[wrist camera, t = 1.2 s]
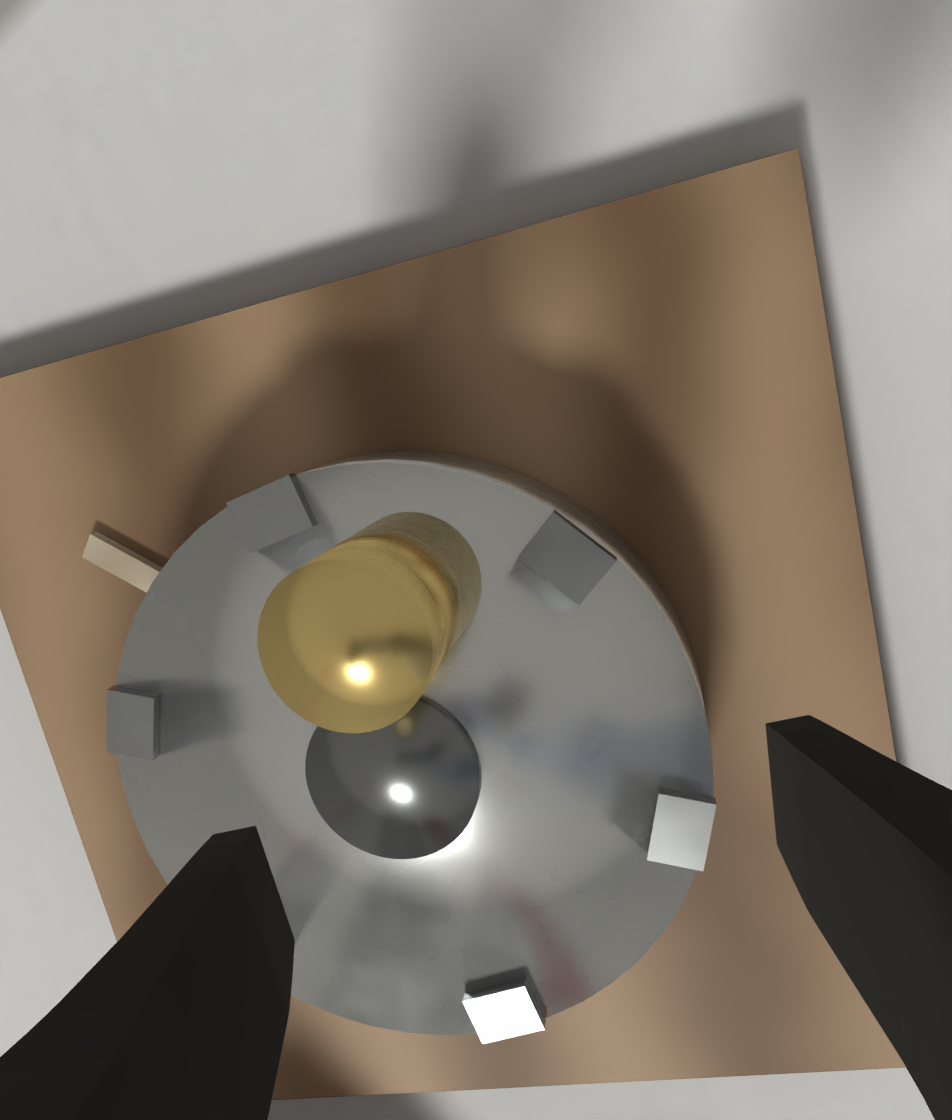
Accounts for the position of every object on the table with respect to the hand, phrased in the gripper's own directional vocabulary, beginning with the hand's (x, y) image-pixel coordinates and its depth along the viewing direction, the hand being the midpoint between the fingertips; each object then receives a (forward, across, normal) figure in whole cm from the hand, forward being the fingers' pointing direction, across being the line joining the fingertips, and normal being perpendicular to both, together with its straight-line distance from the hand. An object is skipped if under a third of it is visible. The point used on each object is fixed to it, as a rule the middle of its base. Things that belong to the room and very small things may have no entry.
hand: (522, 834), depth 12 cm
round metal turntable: (+10, +2, +3) cm, 10 cm away
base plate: (+10, +2, +4) cm, 11 cm away
